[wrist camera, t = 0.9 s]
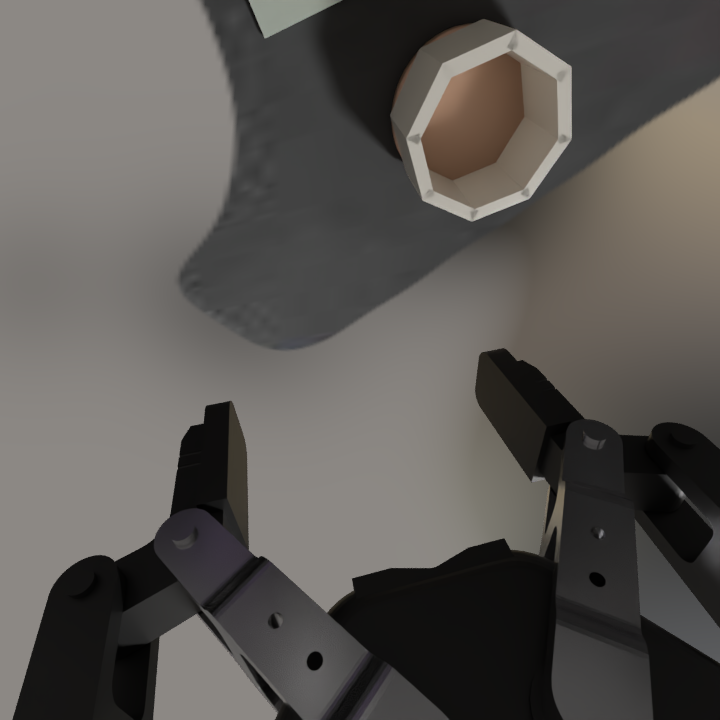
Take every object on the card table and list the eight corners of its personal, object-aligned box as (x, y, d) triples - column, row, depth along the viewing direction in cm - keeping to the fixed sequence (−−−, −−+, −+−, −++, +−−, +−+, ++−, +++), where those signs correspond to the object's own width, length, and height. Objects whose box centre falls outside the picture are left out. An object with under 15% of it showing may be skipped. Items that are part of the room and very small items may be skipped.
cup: (371, 64, 27) (390, 85, 23) (523, -7, 26) (573, 1, 22) (411, 202, 34) (431, 239, 30) (533, 152, 32) (573, 182, 28)
